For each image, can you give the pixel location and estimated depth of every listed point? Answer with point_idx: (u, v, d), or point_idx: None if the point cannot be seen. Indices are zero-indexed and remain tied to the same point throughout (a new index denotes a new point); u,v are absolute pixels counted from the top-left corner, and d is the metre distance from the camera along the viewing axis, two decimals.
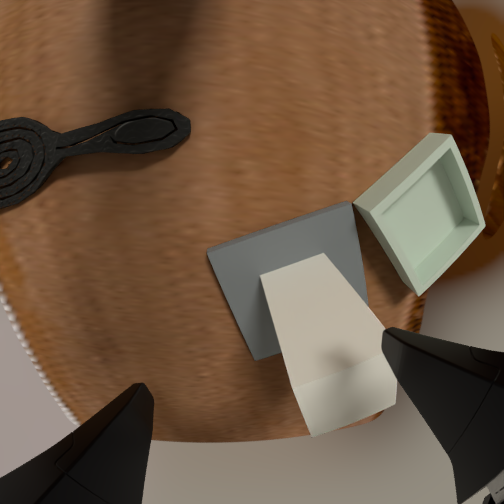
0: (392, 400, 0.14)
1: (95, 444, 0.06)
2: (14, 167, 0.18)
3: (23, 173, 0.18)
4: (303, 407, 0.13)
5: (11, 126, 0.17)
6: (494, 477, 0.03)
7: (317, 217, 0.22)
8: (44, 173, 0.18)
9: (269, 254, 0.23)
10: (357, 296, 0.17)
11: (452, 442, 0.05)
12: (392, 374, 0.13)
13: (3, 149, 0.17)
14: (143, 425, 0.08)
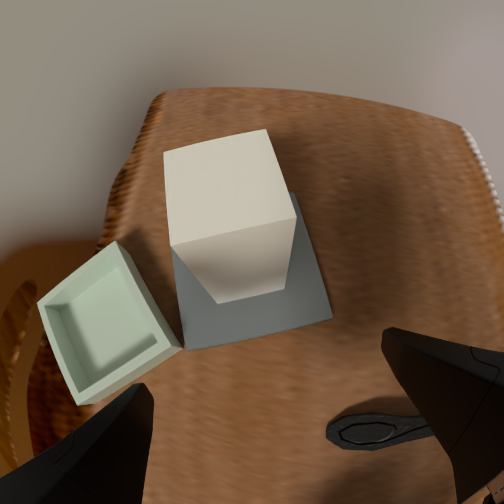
0: (168, 159, 0.14)
1: (95, 444, 0.06)
2: None
3: None
4: (280, 182, 0.13)
5: None
6: (494, 477, 0.03)
7: (222, 341, 0.22)
8: None
9: (273, 309, 0.23)
10: (199, 278, 0.17)
11: (452, 442, 0.05)
12: (173, 202, 0.13)
13: None
14: (143, 425, 0.08)
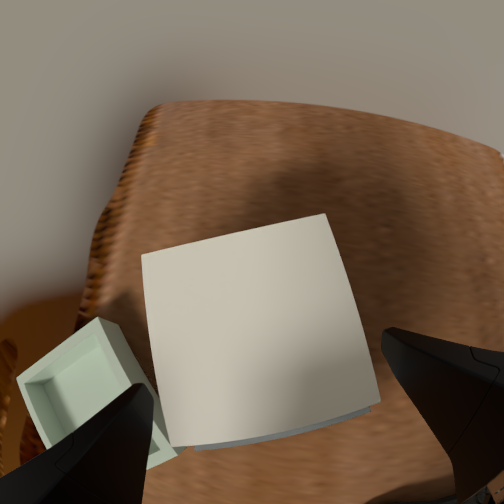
0: (149, 272, 0.08)
1: (95, 444, 0.06)
2: None
3: None
4: (357, 336, 0.07)
5: None
6: (494, 477, 0.03)
7: (238, 443, 0.16)
8: None
9: None
10: None
11: (452, 442, 0.05)
12: (165, 369, 0.07)
13: None
14: (143, 425, 0.08)
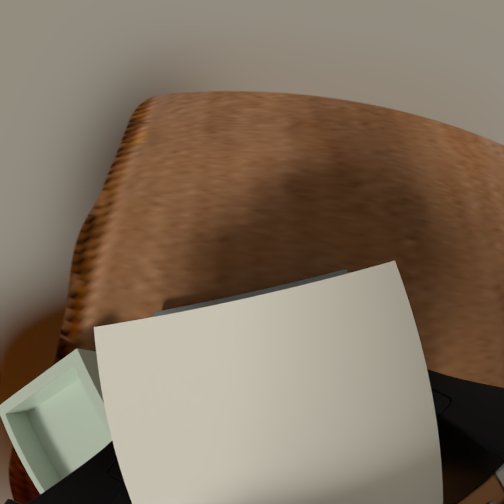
0: (107, 358, 0.04)
1: None
2: None
3: None
4: (430, 452, 0.03)
5: None
6: None
7: None
8: None
9: None
10: None
11: None
12: (145, 501, 0.03)
13: None
14: None
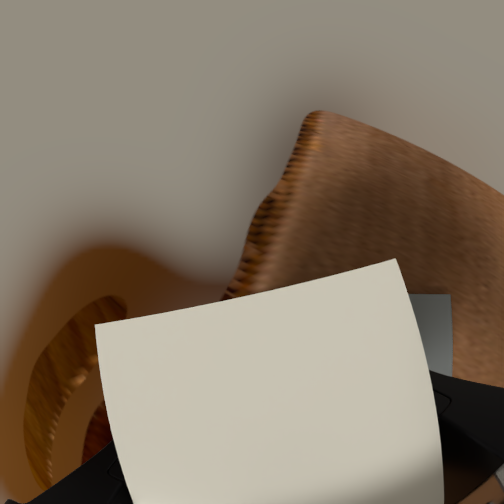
0: (108, 356, 0.04)
1: None
2: None
3: None
4: (432, 450, 0.03)
5: None
6: None
7: None
8: None
9: None
10: None
11: None
12: (146, 499, 0.03)
13: None
14: None
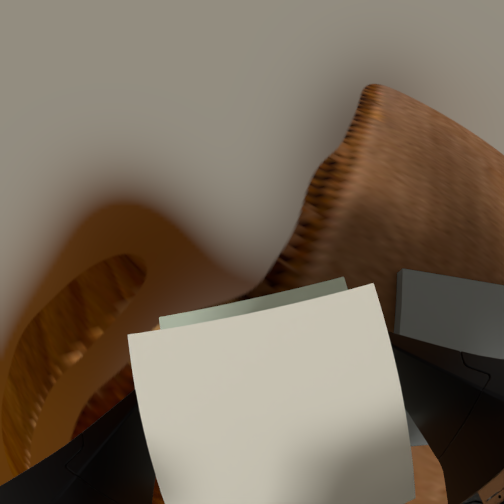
0: (140, 360, 0.06)
1: (105, 445, 0.06)
2: None
3: None
4: (401, 439, 0.05)
5: None
6: (484, 484, 0.03)
7: (420, 442, 0.13)
8: None
9: None
10: None
11: (442, 447, 0.05)
12: (169, 477, 0.05)
13: None
14: None
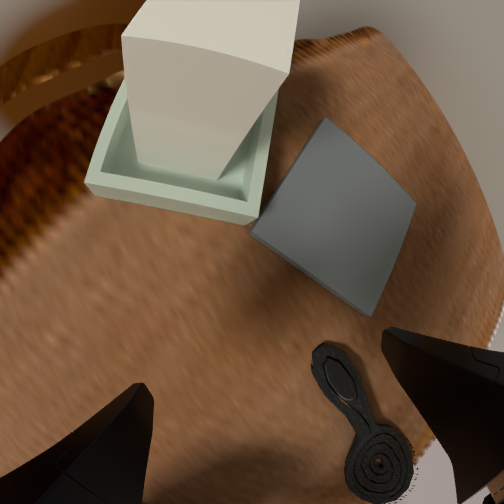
0: None
1: (95, 444, 0.06)
2: (380, 454, 0.23)
3: (383, 444, 0.23)
4: (289, 37, 0.08)
5: (353, 477, 0.22)
6: (494, 477, 0.03)
7: (288, 254, 0.20)
8: (383, 428, 0.22)
9: (343, 269, 0.21)
10: (131, 111, 0.11)
11: (452, 442, 0.05)
12: (154, 1, 0.07)
13: (370, 471, 0.22)
14: (143, 425, 0.08)
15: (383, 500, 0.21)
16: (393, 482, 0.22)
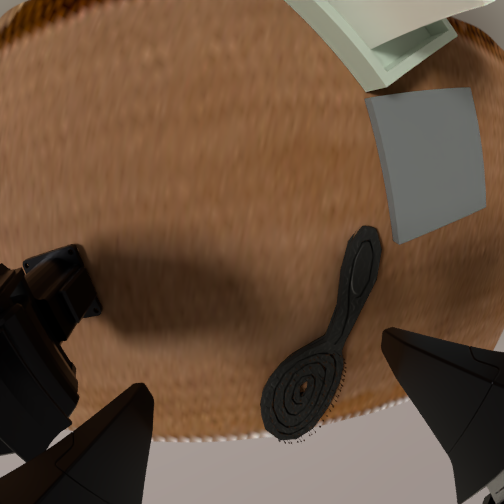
0: None
1: (94, 444, 0.06)
2: (313, 380, 0.28)
3: (323, 373, 0.27)
4: None
5: (278, 379, 0.27)
6: (494, 477, 0.03)
7: (383, 136, 0.19)
8: (340, 355, 0.26)
9: (409, 187, 0.20)
10: None
11: (452, 442, 0.05)
12: None
13: (292, 388, 0.28)
14: (143, 425, 0.08)
15: (272, 429, 0.28)
16: (293, 420, 0.28)
